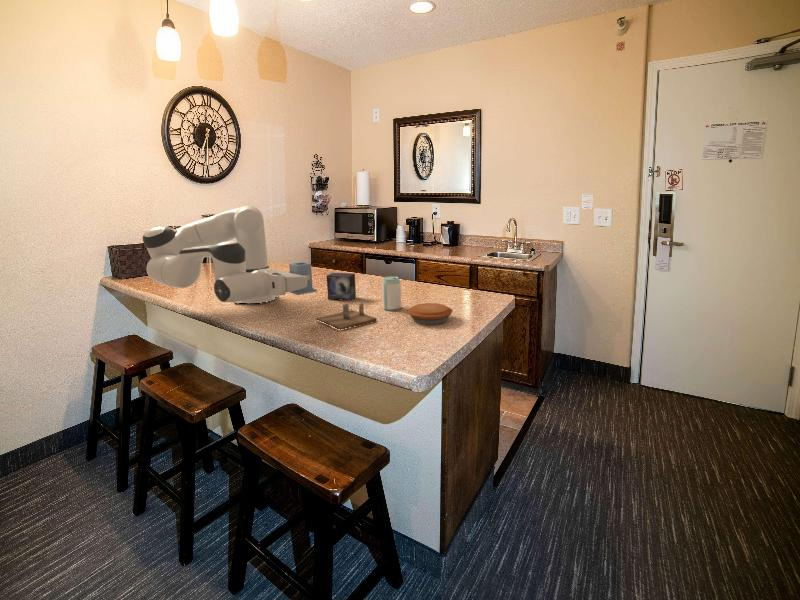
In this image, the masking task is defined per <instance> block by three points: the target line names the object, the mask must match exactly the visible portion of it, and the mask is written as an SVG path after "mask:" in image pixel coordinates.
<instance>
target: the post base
mask: <svg viewBox="0 0 800 600" xmlns="http://www.w3.org/2000/svg"><path fill="white" fill-rule="evenodd" d="M349 306H350V305H349V303H343V304H342V312H338V313H333V314H329V315H328V314H327V315H325V316H321V317H320V316H319V317H316V321H317V320H319V321H321V322H324V323H326V324H328V325H331V326H333V327H335V328H337V329H340V330H341V329H345V328H349V327H354V326H358V327H360V326H359V325H362V326H364V325H363V324H366V325H368V324H367V323H370V324H372V323H371V322H373V323H376V321H377V320H378V319H377V317H374V316H371V315H368V314H366V313H364V311H365V309H364V307H365V306H364V303H362V302H360V303H358V311H356V310H353V309H351V310H350V309H349V308H350V307H349ZM377 322H378V321H377ZM354 328H355V327H354Z"/></svg>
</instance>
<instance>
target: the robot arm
mask: <svg viewBox="0 0 800 600" xmlns="http://www.w3.org/2000/svg"><path fill="white" fill-rule="evenodd" d="M264 222H265V221H264V216H263V213H262V211H260V209H259V208H258V207H256V206H254V205H250V204H249V205H248V204H247V205H243V206H240V207H236V208H234V209H231V210H227V211H224V212H221V213H218V214H216V215H211V216H209V217H204V218H202V219H199V220H195V221H192V222H189V223H186V224H184V225H182V226H180V227H178V228H176V229H175V228H171V227H169V226H165V225H159V226H155V227H151V228H150V229H148V230H146V231H145V232H144V234H143V236H142V241H143V245H144V247H145V248H146V250H147V252H148V254H149V256H150V260H149V261H148V262H147V264H146V272H147V275H148V277H149V278H150V279H151V280H153V281H154V282H157V283H159V284H161V285H164V286H167V287H171V288H177V289H185V288H189V287H191V286H192V285H194V284H196V282H197V280H198V279H199V278H200V276H201V273H202V272H201V271H202V264H203V260H204V259H205V258H211V260H212V263H213V271H214V283H213V290H214V294H215V297H217V299H218V300H219V301H220V302H222V303H234V302H235V303H260V302H266V301H270V300H273V299H274V298H275V297H277V296H279V297H280V296H285V295H287V293H290V292H292V291H296V290H300V289H303V288H305V287H307V280H310V275H308V274H305V275H298V274H294V273H290V271H289V272H288V271H285V270H279V269H273V268H271V267H270V266H269V262H268V255H267V254H268V253H267V252H268V251H267V244H266V243H267V241H266V231H265V223H264ZM235 239H236V241H232V240H235ZM277 298H278V297H277ZM275 299H276V298H275ZM273 301H274V300H273ZM270 302H271V301H270ZM235 303H234V304H235ZM266 303H267V302H266ZM260 304H261V303H260Z"/></svg>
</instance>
